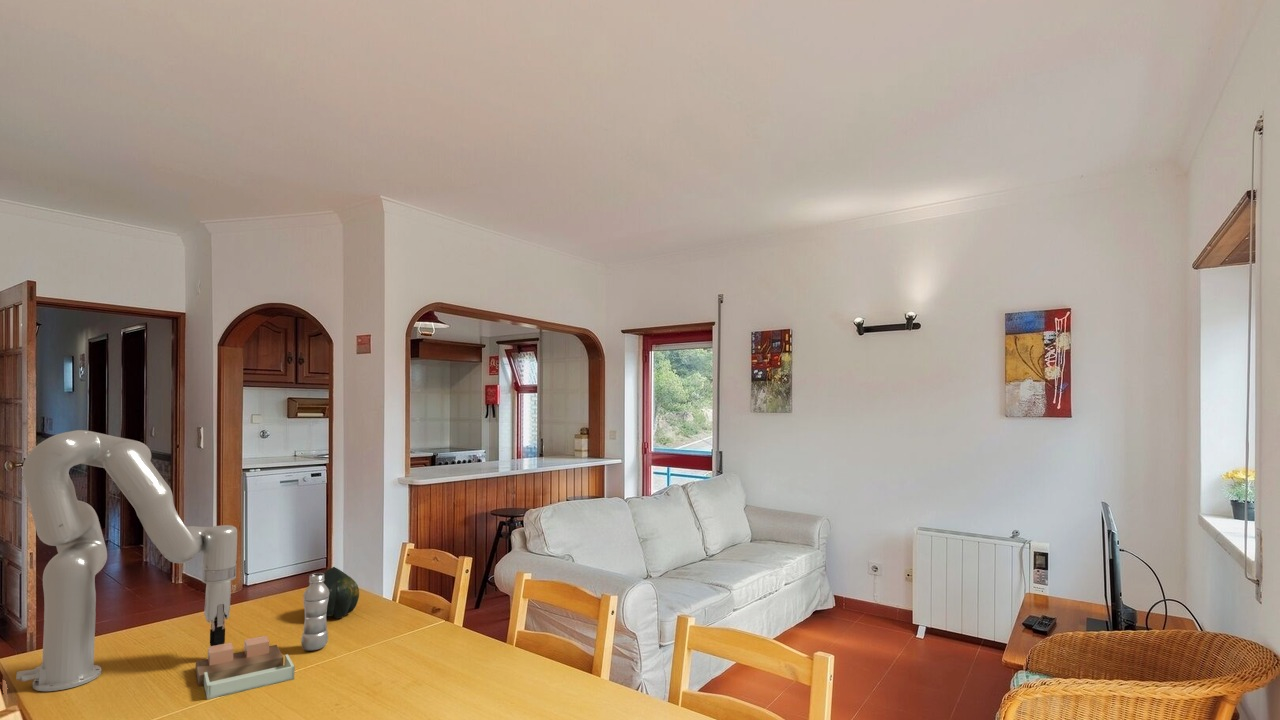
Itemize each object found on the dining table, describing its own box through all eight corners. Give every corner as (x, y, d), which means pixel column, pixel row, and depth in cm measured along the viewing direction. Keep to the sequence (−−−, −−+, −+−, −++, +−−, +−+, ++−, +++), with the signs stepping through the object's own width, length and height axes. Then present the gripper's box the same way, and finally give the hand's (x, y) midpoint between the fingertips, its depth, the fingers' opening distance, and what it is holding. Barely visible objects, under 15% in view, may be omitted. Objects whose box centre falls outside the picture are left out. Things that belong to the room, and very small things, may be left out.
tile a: (209, 665, 164) (209, 653, 164) (207, 658, 168) (208, 646, 168) (233, 660, 167) (233, 648, 167) (230, 654, 171) (231, 642, 171)
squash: (331, 610, 196) (353, 563, 206) (288, 607, 199) (312, 561, 209) (354, 629, 205) (374, 583, 216) (313, 626, 209) (334, 581, 219)
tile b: (246, 657, 168) (247, 645, 169) (244, 651, 172) (244, 639, 172) (269, 653, 171) (269, 641, 172) (265, 646, 175) (266, 635, 176)
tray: (207, 699, 151) (207, 686, 152) (203, 685, 159) (204, 672, 159) (294, 678, 162) (294, 666, 163) (287, 666, 170) (287, 654, 170)
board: (198, 686, 158) (199, 675, 158) (195, 671, 166) (195, 661, 166) (283, 667, 169) (283, 657, 169) (276, 654, 177) (276, 644, 177)
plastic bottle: (295, 650, 179) (297, 576, 180) (317, 642, 185) (320, 570, 186) (311, 655, 176) (313, 579, 177) (333, 646, 182) (335, 573, 183)
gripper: (200, 569, 178) (197, 638, 177) (205, 583, 166) (202, 657, 166) (232, 565, 183) (230, 632, 182) (239, 578, 171) (237, 650, 170)
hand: (217, 644), depth 174 cm, fingers closed
